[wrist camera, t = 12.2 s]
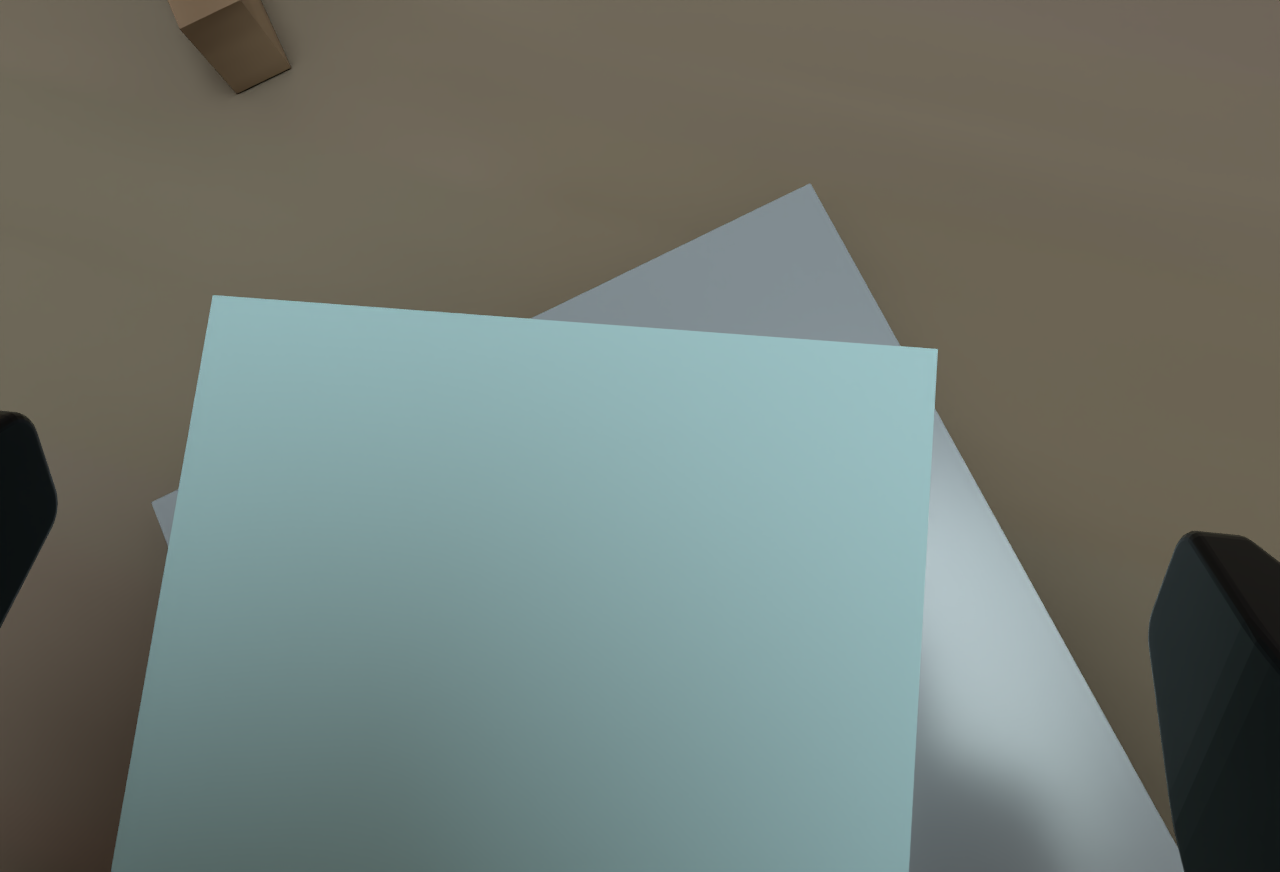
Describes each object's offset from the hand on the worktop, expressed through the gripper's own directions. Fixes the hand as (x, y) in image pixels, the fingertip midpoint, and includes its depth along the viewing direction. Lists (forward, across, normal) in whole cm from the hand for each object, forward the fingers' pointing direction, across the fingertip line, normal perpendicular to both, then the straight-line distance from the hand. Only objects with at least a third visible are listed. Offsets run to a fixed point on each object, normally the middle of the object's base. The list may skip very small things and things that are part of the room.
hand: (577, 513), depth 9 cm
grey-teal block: (+4, 0, +6) cm, 8 cm away
